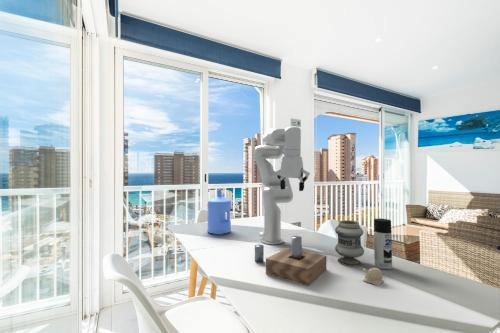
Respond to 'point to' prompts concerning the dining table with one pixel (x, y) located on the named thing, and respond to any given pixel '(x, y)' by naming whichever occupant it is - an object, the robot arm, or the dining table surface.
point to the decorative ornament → (373, 276)
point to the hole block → (296, 266)
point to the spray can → (383, 243)
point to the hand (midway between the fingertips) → (291, 190)
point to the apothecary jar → (349, 242)
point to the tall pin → (296, 247)
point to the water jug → (219, 214)
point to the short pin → (259, 253)
